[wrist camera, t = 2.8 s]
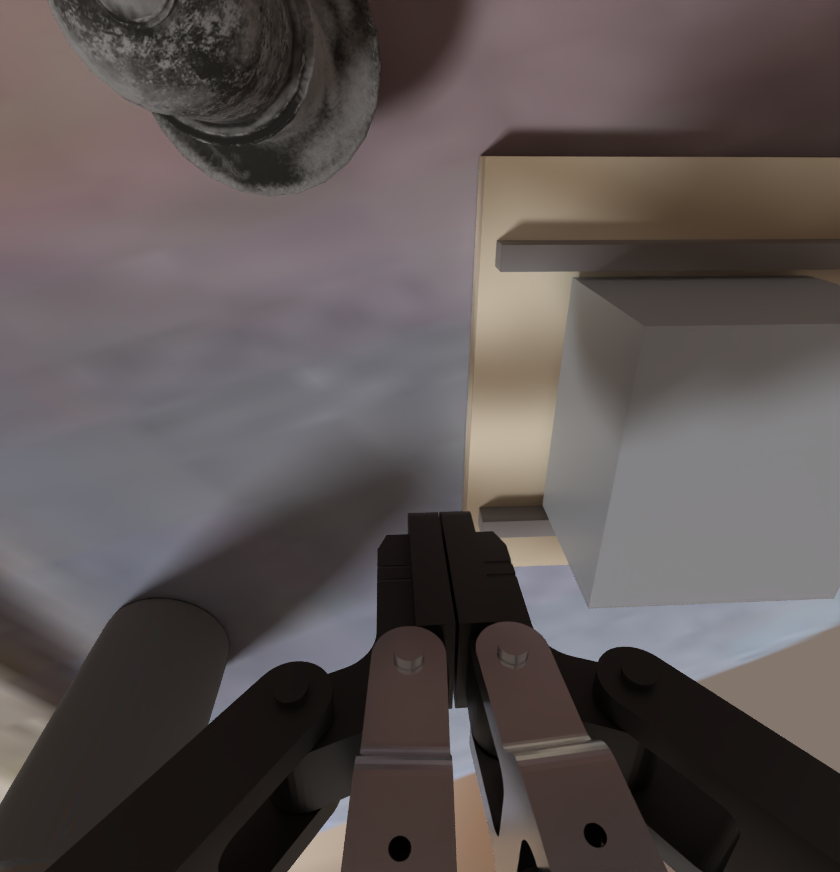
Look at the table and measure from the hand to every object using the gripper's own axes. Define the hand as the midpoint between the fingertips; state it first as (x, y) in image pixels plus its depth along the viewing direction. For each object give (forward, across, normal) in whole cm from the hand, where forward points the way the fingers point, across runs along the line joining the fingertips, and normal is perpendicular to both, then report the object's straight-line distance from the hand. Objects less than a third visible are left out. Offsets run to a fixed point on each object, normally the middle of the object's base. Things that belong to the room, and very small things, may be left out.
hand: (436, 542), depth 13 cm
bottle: (+9, +12, +13) cm, 20 cm away
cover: (+7, -9, 0) cm, 12 cm away
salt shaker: (+9, +4, -10) cm, 14 cm away
